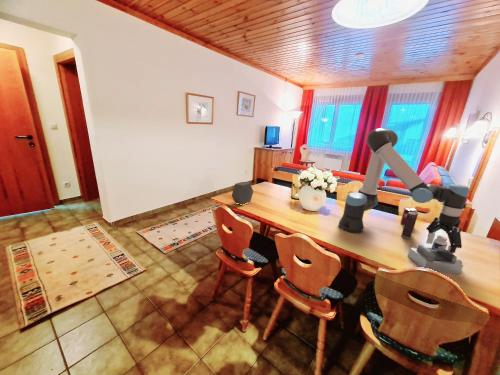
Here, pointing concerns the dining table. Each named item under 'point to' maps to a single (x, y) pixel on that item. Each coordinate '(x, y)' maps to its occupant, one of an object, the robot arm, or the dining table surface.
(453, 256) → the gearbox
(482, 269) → the dining table surface
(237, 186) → the planter
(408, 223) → the supplement box
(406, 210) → the soda can
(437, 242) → the pill bottle
